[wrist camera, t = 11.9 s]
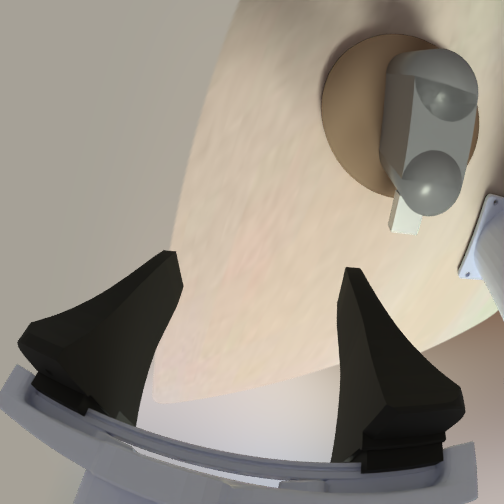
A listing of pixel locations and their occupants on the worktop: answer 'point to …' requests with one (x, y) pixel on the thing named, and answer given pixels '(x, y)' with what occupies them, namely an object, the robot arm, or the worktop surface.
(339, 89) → the walnut coaster
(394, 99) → the grey connector plug
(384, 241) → the worktop surface
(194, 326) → the worktop surface
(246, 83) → the worktop surface
